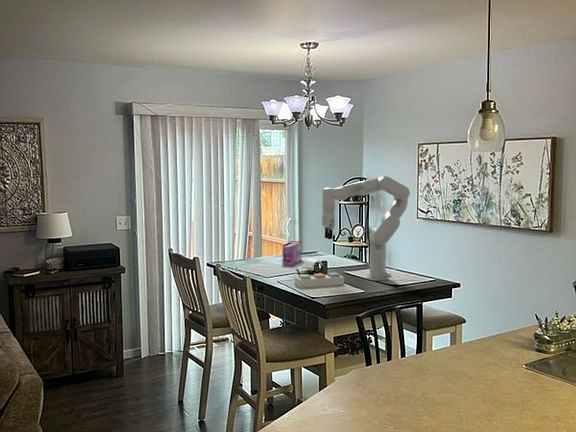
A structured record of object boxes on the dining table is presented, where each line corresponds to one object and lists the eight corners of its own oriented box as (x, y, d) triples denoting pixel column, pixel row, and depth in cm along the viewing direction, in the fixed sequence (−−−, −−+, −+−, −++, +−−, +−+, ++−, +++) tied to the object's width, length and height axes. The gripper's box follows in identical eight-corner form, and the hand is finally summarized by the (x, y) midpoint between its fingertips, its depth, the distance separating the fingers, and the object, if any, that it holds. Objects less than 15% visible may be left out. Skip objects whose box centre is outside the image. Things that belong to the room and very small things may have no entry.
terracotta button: (322, 278, 332) (322, 273, 332) (325, 280, 327) (325, 275, 326) (313, 278, 330) (313, 273, 330) (316, 280, 325) (316, 275, 325)
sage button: (307, 279, 329) (307, 274, 329) (310, 281, 324) (310, 276, 324) (298, 279, 328) (298, 274, 327) (301, 281, 323) (301, 276, 322)
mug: (313, 269, 373) (313, 257, 372) (323, 272, 365) (323, 260, 364) (299, 271, 367) (299, 259, 366) (308, 274, 358) (308, 262, 357)
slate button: (336, 277, 334) (336, 272, 334) (339, 279, 329) (339, 274, 329) (327, 277, 333) (327, 272, 333) (331, 279, 328) (331, 274, 327)
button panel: (337, 281, 337) (337, 274, 337) (343, 284, 328) (343, 277, 328) (294, 284, 329) (294, 276, 329) (299, 287, 321) (299, 280, 320)
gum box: (292, 265, 388) (292, 246, 386) (281, 265, 390) (281, 245, 389) (301, 259, 411) (301, 241, 409) (291, 259, 413) (291, 240, 411)
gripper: (318, 207, 346) (318, 237, 347) (327, 209, 330) (327, 240, 332) (329, 207, 348) (329, 236, 350) (339, 209, 332) (339, 240, 334)
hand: (328, 238), depth 341 cm, fingers open, 3 cm apart
